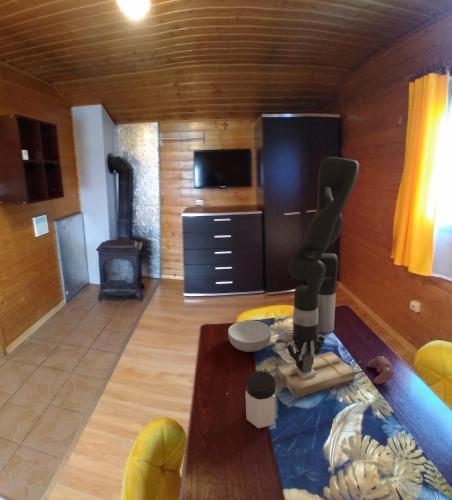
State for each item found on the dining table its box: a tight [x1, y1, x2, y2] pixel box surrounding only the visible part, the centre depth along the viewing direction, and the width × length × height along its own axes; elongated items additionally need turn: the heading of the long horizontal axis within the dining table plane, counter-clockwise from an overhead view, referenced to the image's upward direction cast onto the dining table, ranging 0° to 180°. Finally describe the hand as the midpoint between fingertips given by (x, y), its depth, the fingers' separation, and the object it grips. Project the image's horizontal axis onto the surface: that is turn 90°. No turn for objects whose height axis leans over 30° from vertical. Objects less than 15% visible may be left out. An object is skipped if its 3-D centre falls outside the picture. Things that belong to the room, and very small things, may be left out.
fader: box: [293, 349, 316, 379], centre depth 98 cm, size 6×5×7 cm
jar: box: [245, 371, 277, 429], centre depth 85 cm, size 9×8×12 cm
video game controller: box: [366, 355, 394, 385], centre depth 100 cm, size 10×5×7 cm, turn 169°
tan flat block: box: [276, 350, 356, 399], centre depth 101 cm, size 12×22×3 cm, turn 109°
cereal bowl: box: [227, 319, 272, 353], centre depth 119 cm, size 17×17×7 cm
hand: (304, 366), depth 99 cm, fingers closed on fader, 3 cm apart
